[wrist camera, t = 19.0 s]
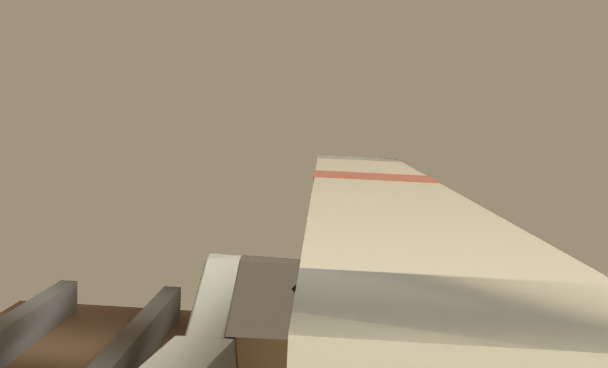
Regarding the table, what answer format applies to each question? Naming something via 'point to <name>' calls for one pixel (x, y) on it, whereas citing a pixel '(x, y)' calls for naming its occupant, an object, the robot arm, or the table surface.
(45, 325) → the cabinet
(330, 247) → the red-banded cream beam
